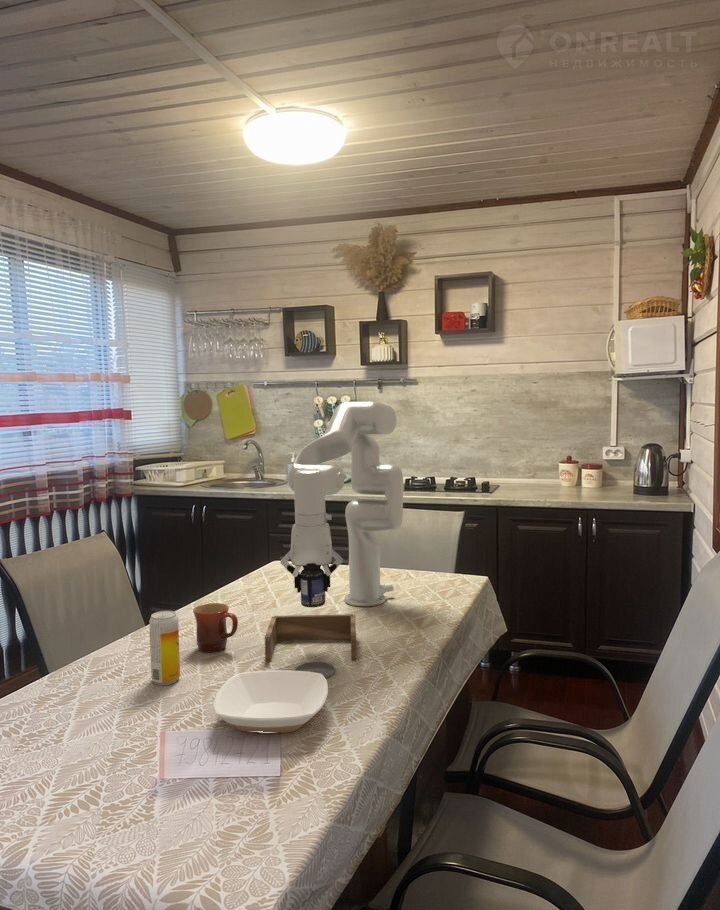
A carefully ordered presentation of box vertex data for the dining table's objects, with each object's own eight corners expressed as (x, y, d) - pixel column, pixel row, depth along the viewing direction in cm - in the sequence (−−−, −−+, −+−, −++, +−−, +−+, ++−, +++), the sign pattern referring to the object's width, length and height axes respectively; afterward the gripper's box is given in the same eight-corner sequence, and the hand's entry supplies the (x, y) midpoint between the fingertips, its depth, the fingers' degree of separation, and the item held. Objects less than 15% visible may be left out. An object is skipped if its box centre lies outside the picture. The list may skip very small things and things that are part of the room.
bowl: (230, 693, 140) (229, 669, 140) (332, 694, 140) (331, 669, 139) (203, 746, 119) (202, 718, 118) (323, 747, 118) (322, 718, 118)
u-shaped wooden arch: (272, 638, 173) (272, 615, 172) (355, 636, 173) (355, 614, 173) (265, 661, 157) (264, 636, 157) (356, 659, 158) (356, 635, 157)
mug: (186, 651, 164) (185, 611, 164) (209, 640, 172) (207, 601, 171) (226, 659, 159) (225, 617, 158) (247, 646, 167) (246, 606, 166)
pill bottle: (327, 600, 168) (326, 557, 167) (323, 608, 162) (322, 564, 161) (303, 599, 169) (301, 557, 167) (298, 608, 163) (297, 564, 161)
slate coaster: (323, 661, 157) (323, 659, 157) (342, 674, 149) (342, 671, 149) (288, 669, 152) (288, 667, 152) (306, 683, 145) (306, 681, 145)
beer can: (185, 676, 149) (183, 611, 148) (169, 687, 143) (167, 620, 142) (162, 673, 151) (160, 609, 150) (145, 684, 145) (143, 617, 144)
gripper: (345, 515, 167) (347, 585, 169) (276, 517, 167) (279, 586, 169) (345, 521, 159) (347, 594, 161) (273, 523, 159) (276, 596, 161)
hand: (312, 589), depth 165 cm, fingers closed on pill bottle, 6 cm apart
